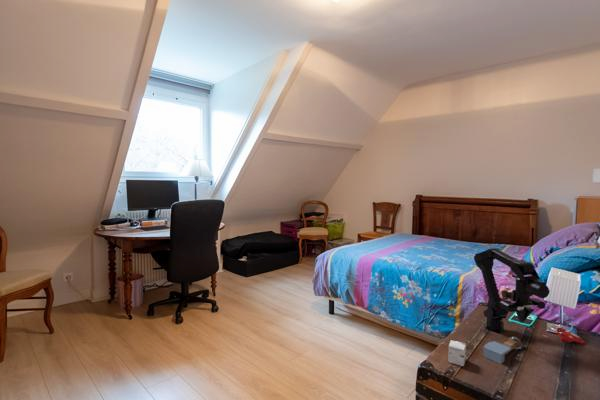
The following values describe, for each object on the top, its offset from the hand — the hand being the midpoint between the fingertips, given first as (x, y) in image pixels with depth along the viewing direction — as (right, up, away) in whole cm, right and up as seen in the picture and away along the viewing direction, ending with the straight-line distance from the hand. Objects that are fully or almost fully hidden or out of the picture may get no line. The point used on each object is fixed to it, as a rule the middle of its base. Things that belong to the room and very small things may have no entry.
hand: (521, 322), depth 144 cm
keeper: (-16, -12, -8) cm, 21 cm away
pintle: (-3, -11, +1) cm, 11 cm away
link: (-8, -11, -3) cm, 14 cm away
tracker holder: (+27, -10, +6) cm, 30 cm away
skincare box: (-35, -13, -10) cm, 38 cm away
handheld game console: (+20, -9, +27) cm, 35 cm away
